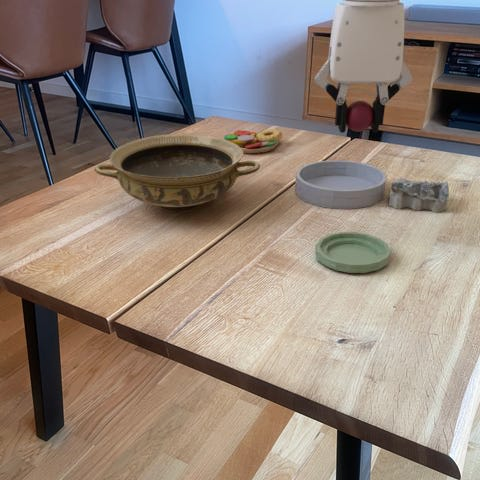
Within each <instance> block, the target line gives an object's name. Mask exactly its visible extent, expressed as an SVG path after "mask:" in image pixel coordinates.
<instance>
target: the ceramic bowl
mask: <svg viewBox="0 0 480 480" xmlns="http://www.w3.org/2000/svg"><path fill="white" fill-rule="evenodd" d="M244 156H245V153H243V151H242V149H241V148H240V147H239V146H238V145H236V144H234V143H232V142H230V141H227V140H224V138H220V137H216V136H211V135H204V134H203V135H202V134H191V133H190V134H189V133H188V134H187V133H172V134H171V133H170V134H161V135H160V134H159V135H153V136H152V135H151V136H146V137H142V138H139V139H135V140H132V141H129V142H127V143H124V144H122V145H120V146H118V147H117V148H115V149H114V150H113V151H112V152H111V154H110V155H109V162H110V164H105V163H103V164H97V165H95V166H94V171H95V173H96V174H98V175H99V176H102V177H107V178H111V179H115V180H116V181H118V183H119V185H120V187H121V188H122V189H123V191H125V192H126V193H127V195H129V196H130V197H131V198H133V199H135V200H138V201H140V202H143V203H145V204H148V205H152V206H157V207H159V209H161V210H163V211H165V212H168V211H169V212H168V213H174V212H181V213H187V212H186V211H188V212H192V211H195V210H196V208H197V209H198V208H200V207H201V206H202V204H205V203H208V202H211V201H214V200H215V199H217V198H220V197H221V196H223V195H224V194H226V193H227V192H228V191H229V190H231V188H233V186H234V184H235V183H236V180H237V179H239V177H243V176H248V175H251V174H254V173H256V172H257V171H259V170H260V168H261V164H260V163H259V162H258V161H255V160H246V161H241V160H242V158H243V157H244ZM243 167H250V168H248V169H243V170H238V169H239V168H243ZM112 171H115V172H112ZM194 209H195V210H194ZM191 210H192V211H191Z"/></svg>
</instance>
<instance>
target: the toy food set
mask: <svg viewBox="0 0 480 480" xmlns="http://www.w3.org/2000/svg"><path fill="white" fill-rule="evenodd" d="M223 139H224V140H227V141H230V142H232V143H234V144H236V145H238V146H239V147H240V148H241V149H242V151H243V154H261V152H262V153H266V152H269V151H272V150H273V149H275V147H276V146H277V145H278V144H279V141H281V140H282V139H283V132H282V130H280V129H277V128H269V129H265V130H262V131H259V132H258V133H256V132H254V131H249V130H242V129H240V130H239V129H238V130H236V131H234V132H232V133H230V134H226V135H224V136H223Z"/></svg>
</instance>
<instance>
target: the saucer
mask: <svg viewBox="0 0 480 480" xmlns="http://www.w3.org/2000/svg"><path fill="white" fill-rule="evenodd" d="M391 252H392V250H391V248H390V246H389V244H388V243H387V242H386V241H384V239H381V238H380V237H378V236H374V235H371V234H369V233H365V232H364V233H363V232H357V231H339V232H335V233H329V234H327V235H325V236H323V237H321V238H320V239H319V240H318V241H317V242H316V244H315V256H316V260H317V261H319V263H321V264H322V265H323V266H325V267H327V268H330V269H333V270H335V271H339V272H343V273H349V274H359V273H360V274H365V273H370V272H374V271H375V272H376V271H379V270H381V269H382V268H384V267H386V266H387V265H388V263H389V261H390V258H391Z"/></svg>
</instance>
